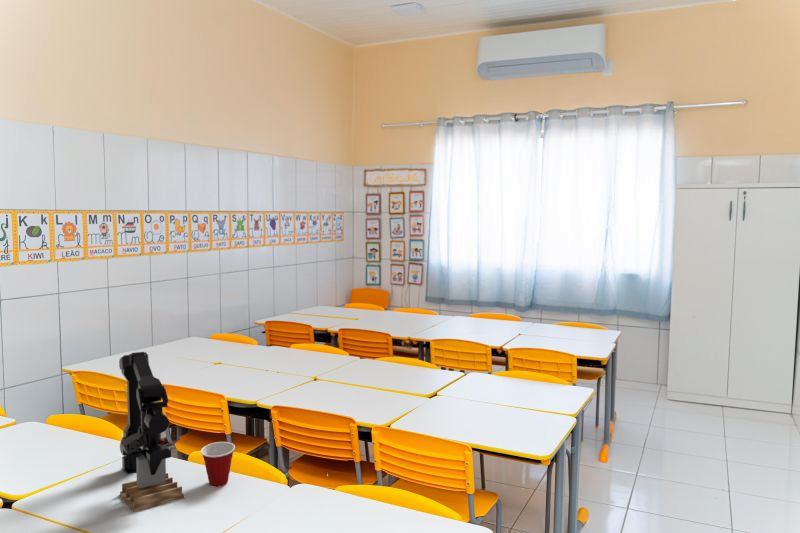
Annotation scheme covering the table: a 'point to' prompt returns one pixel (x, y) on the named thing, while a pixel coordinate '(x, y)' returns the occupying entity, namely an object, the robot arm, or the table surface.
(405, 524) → the table surface
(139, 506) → the rack
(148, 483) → the slate
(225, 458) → the plastic cup
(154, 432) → the robot arm
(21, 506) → the table surface
